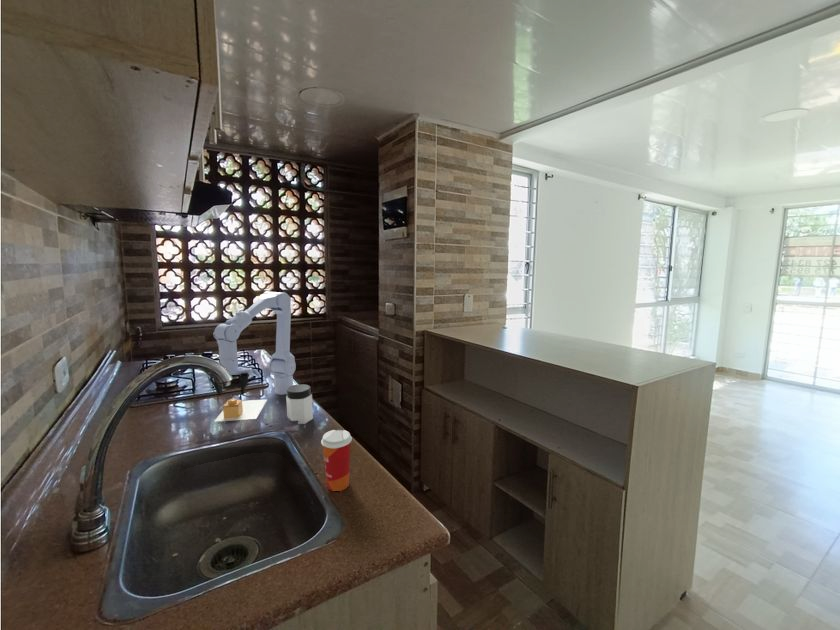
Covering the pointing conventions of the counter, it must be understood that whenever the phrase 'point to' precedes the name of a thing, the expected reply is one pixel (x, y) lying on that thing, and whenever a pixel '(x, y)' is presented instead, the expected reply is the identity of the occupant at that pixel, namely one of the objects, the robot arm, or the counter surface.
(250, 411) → the white board
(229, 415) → the orange domed block
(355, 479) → the counter surface
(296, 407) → the jar
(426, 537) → the counter surface
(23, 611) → the counter surface
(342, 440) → the paper cup
